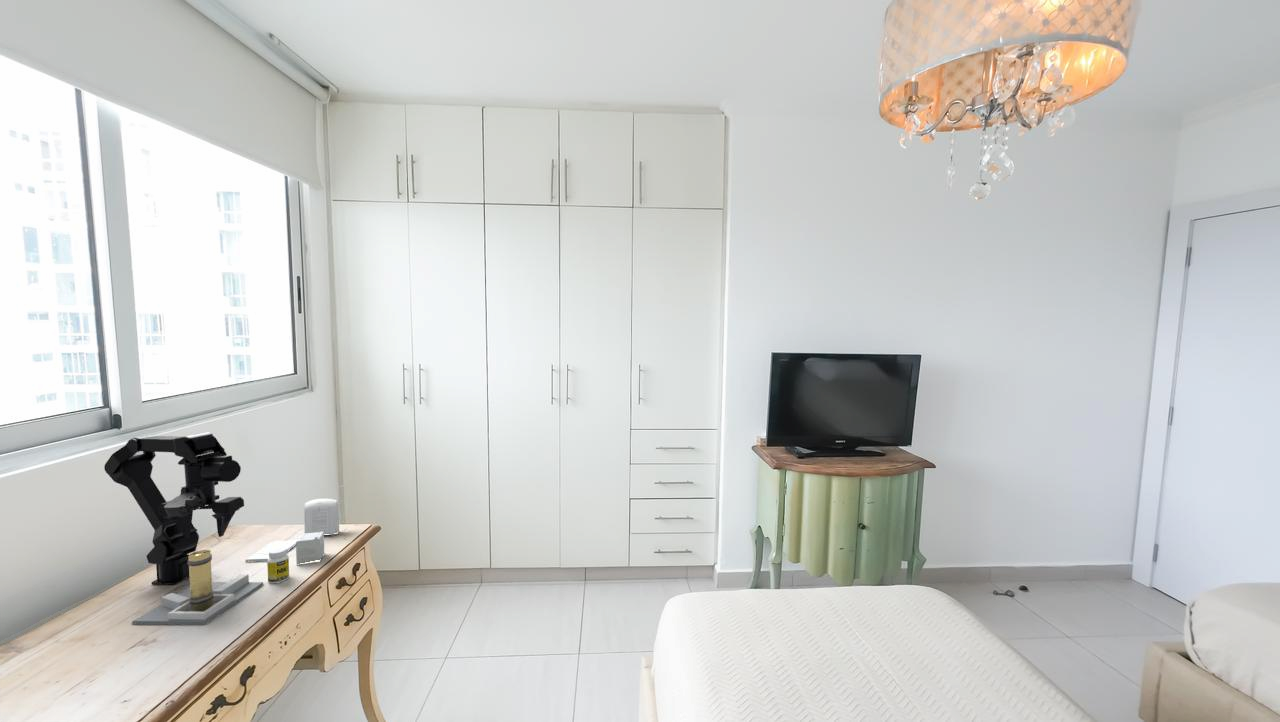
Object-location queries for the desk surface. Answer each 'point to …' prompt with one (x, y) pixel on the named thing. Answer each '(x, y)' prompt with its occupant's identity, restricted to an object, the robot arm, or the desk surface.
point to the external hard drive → (264, 553)
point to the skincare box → (309, 547)
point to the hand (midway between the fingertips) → (204, 536)
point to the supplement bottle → (278, 565)
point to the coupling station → (179, 611)
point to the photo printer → (321, 516)
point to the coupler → (200, 580)
